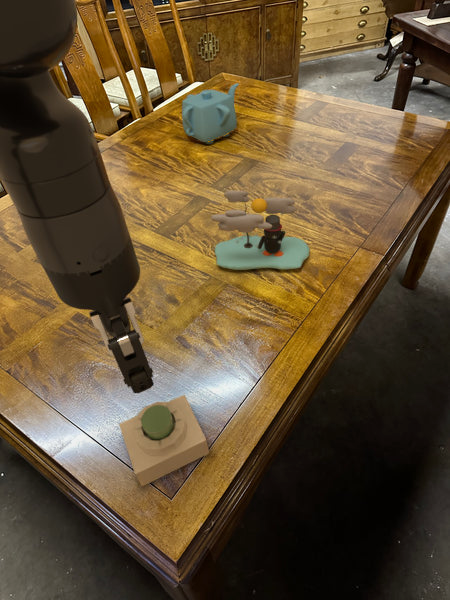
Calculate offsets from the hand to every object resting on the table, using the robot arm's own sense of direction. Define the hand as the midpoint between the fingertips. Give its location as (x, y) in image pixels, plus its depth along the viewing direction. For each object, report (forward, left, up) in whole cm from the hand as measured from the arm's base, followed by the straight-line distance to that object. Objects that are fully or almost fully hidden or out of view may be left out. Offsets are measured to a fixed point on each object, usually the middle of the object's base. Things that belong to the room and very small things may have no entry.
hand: (132, 359), depth 46 cm
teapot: (+50, +92, -20) cm, 107 cm away
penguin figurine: (+32, +30, -20) cm, 48 cm away
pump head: (0, 0, -15) cm, 15 cm away
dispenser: (0, 0, -20) cm, 20 cm away
